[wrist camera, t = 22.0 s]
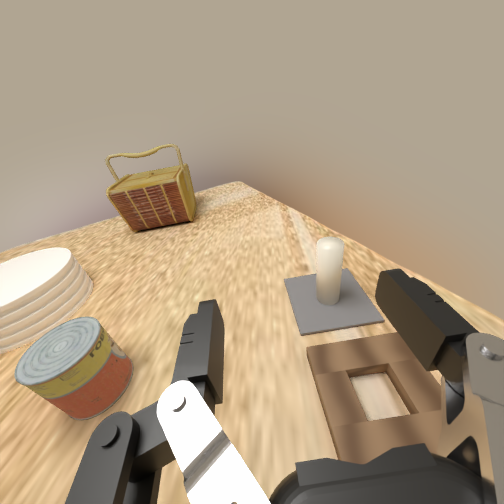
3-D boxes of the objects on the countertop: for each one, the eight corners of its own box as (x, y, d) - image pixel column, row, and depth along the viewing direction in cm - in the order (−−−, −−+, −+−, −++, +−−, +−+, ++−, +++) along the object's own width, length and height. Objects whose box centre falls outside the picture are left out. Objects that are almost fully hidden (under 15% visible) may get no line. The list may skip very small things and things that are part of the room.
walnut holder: (345, 483, 26) (347, 478, 25) (306, 355, 39) (306, 347, 38) (483, 462, 26) (492, 456, 24) (396, 340, 39) (399, 331, 37)
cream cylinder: (320, 307, 47) (321, 252, 39) (313, 291, 51) (313, 239, 43) (342, 303, 47) (348, 248, 39) (334, 287, 51) (337, 234, 43)
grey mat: (300, 335, 43) (300, 333, 42) (284, 280, 56) (284, 279, 56) (383, 322, 42) (384, 319, 42) (347, 270, 56) (347, 268, 55)
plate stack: (107, 268, 75) (88, 239, 69) (63, 338, 52) (28, 305, 45) (21, 287, 73) (-6, 260, 67) (-64, 369, 50) (-119, 339, 44)
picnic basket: (201, 203, 112) (182, 138, 96) (196, 226, 91) (170, 147, 74) (145, 214, 112) (115, 151, 96) (126, 239, 91) (85, 163, 74)
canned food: (144, 375, 41) (110, 336, 34) (77, 437, 34) (20, 403, 28) (118, 345, 47) (87, 307, 41) (59, 391, 41) (9, 355, 34)
